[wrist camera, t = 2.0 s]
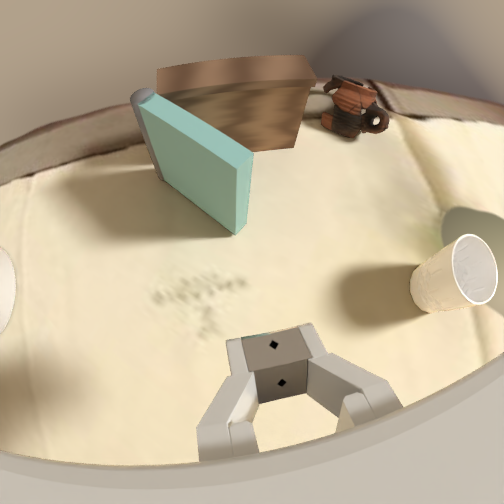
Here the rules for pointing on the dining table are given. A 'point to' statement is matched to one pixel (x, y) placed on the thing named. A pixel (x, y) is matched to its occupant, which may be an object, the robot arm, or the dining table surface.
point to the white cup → (455, 276)
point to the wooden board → (244, 96)
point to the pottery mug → (353, 108)
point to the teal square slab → (196, 158)
